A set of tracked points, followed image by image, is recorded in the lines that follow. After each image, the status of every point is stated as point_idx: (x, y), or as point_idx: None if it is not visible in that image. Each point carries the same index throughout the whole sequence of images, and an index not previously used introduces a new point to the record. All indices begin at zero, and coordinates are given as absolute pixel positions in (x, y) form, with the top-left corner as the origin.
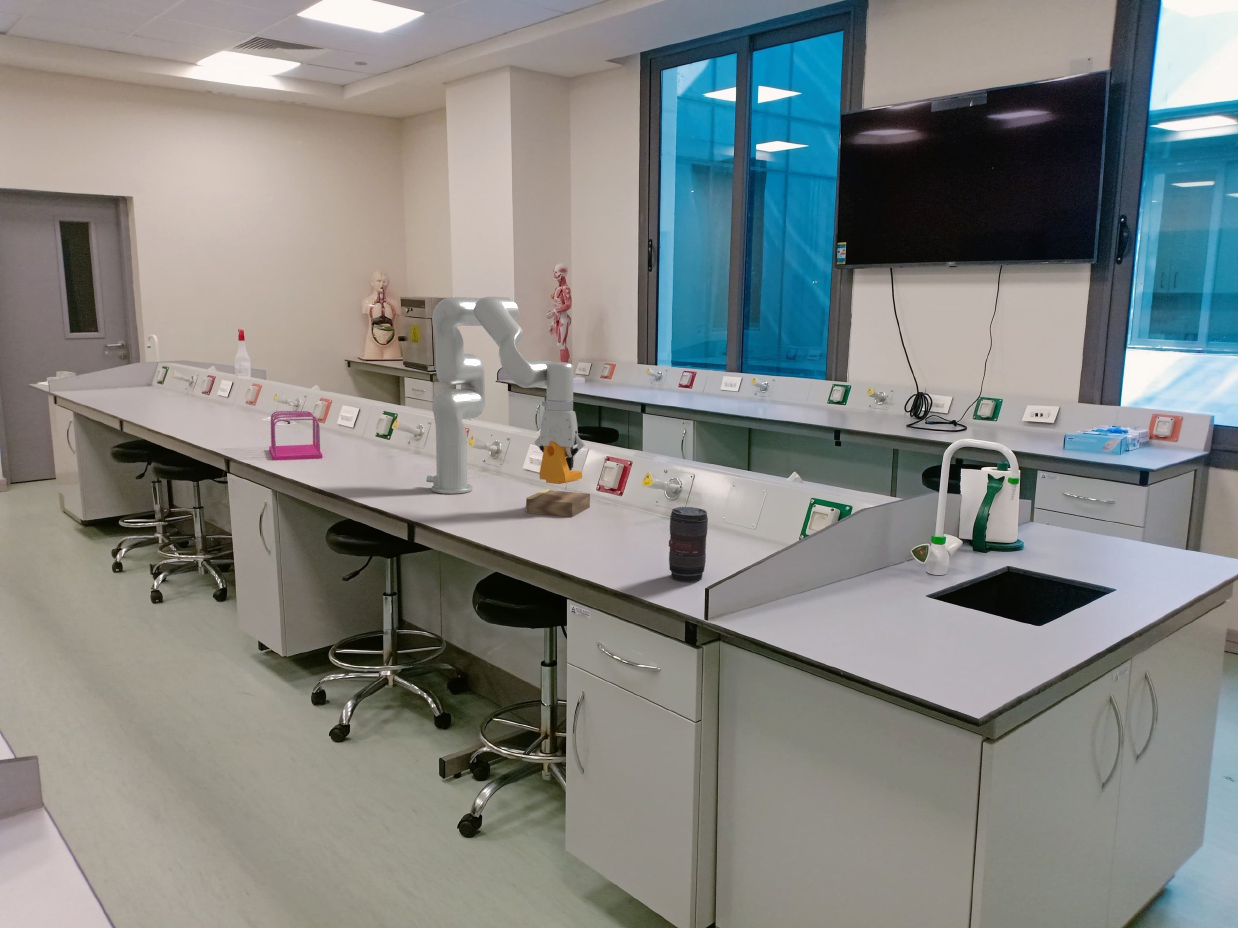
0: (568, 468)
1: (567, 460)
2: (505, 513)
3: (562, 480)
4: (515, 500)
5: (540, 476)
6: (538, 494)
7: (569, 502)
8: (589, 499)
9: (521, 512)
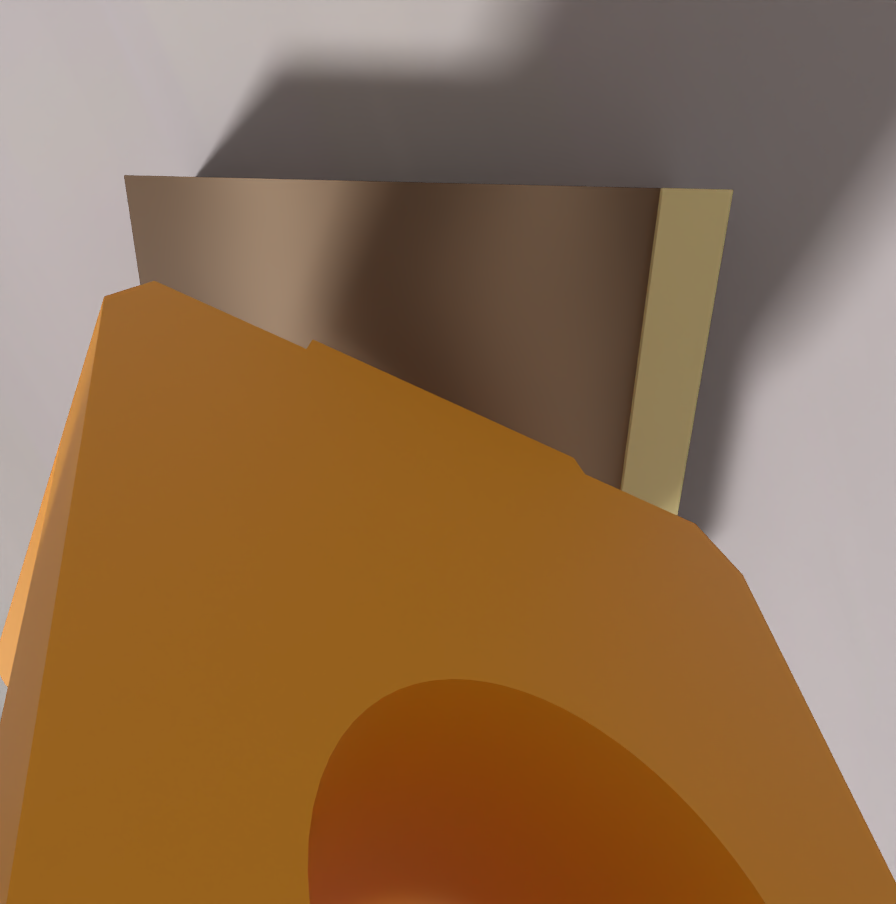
0: (51, 489)
1: None
2: (870, 62)
3: (221, 316)
4: (879, 599)
5: (699, 539)
6: (646, 432)
7: (169, 189)
8: None
9: (719, 179)
